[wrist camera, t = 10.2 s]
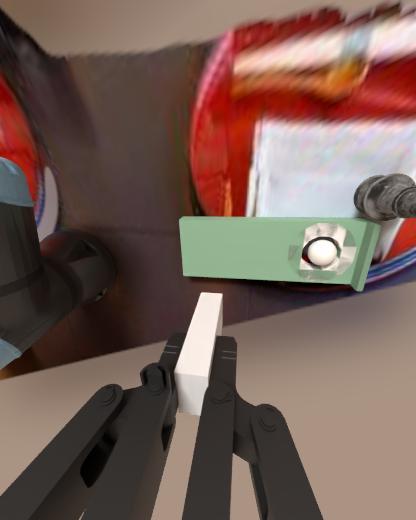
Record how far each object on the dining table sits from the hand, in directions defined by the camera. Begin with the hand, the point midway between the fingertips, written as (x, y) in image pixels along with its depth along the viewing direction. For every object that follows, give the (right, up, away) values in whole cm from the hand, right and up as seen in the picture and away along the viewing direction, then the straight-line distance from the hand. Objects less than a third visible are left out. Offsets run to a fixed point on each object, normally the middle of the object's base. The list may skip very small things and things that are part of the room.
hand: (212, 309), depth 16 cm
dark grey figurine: (+24, +13, +15) cm, 31 cm away
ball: (+17, +5, +18) cm, 25 cm away
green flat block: (+9, +6, +21) cm, 23 cm away
